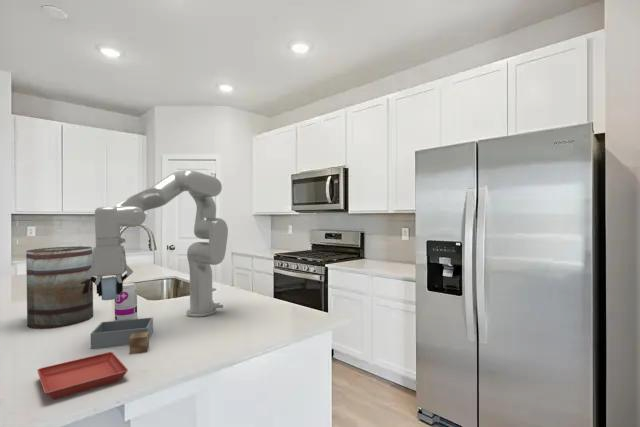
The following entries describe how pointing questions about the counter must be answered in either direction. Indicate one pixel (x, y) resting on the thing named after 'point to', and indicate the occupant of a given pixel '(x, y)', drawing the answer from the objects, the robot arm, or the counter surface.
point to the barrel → (58, 287)
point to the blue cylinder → (109, 288)
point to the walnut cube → (139, 342)
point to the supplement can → (126, 303)
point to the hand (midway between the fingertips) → (110, 294)
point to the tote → (119, 332)
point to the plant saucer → (81, 375)
